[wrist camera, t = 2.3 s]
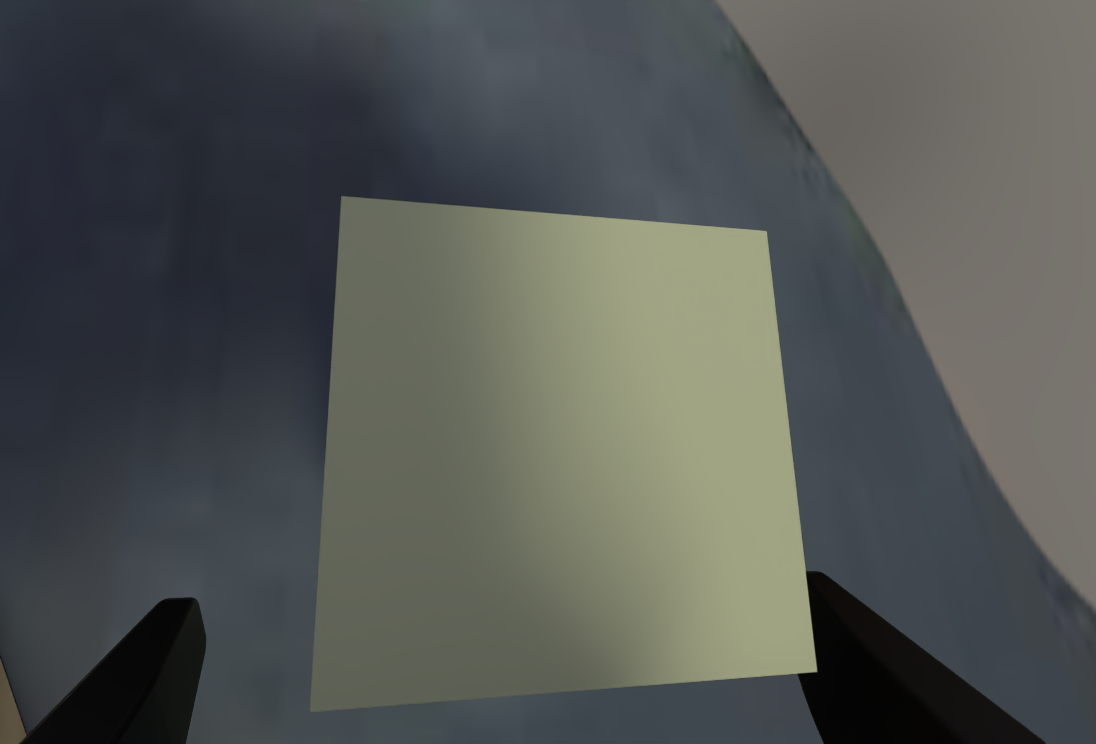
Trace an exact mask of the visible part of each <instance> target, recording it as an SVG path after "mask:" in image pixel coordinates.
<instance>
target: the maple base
mask: <svg viewBox="0 0 1096 744" xmlns="http://www.w3.org/2000/svg"><path fill="white" fill-rule="evenodd" d="M25 737H26V733H25V730H24V727H23V724H22V721H21V718H20V715H19V712H18V709H17V706H16V703H15V700H14V697H13V694H12V691H11V688H10V685H9V682H8V680H7V677H6V674H5V671H4V668H3V665H2V662H1V659H0V744H19V743H20V742H21V741H22V740H23V739H24V738H25Z"/></svg>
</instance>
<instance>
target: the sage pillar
mask: <svg viewBox="0 0 1096 744" xmlns="http://www.w3.org/2000/svg"><path fill="white" fill-rule="evenodd" d="M809 672H817V666H816V657H815V649H814V640H813V631H812V623H811V614H810V605H809V597H808V588H807V579H806V570H805V562H804V553H803V544H802V536H801V527H800V518H799V510H798V501H797V492H796V484H795V475H794V466H793V458H792V449H791V440H790V432H789V423H788V414H787V405H786V397H785V388H784V379H783V371H782V362H781V353H780V345H779V336H778V327H777V319H776V310H775V301H774V293H773V284H772V275H771V267H770V258H769V249H768V240H767V232H766V231H758V230H746V229H734V228H722V227H710V226H697V225H685V224H673V223H661V222H649V221H637V220H625V219H613V218H601V217H588V216H576V215H564V214H552V213H540V212H528V211H516V210H504V209H492V208H479V207H467V206H455V205H443V204H431V203H419V202H407V201H395V200H383V199H371V198H358V197H346V196H341V211H340V228H339V244H338V260H337V277H336V293H335V309H334V326H333V342H332V358H331V375H330V391H329V407H328V424H327V440H326V456H325V473H324V489H323V505H322V522H321V538H320V554H319V571H318V587H317V603H316V620H315V636H314V652H313V669H312V685H311V702H310V712H314V711H327V710H340V709H352V708H365V707H378V706H391V705H403V704H416V703H429V702H441V701H454V700H467V699H479V698H492V697H505V696H517V695H530V694H543V693H555V692H568V691H581V690H593V689H606V688H619V687H631V686H644V685H657V684H669V683H682V682H695V681H707V680H720V679H733V678H745V677H758V676H771V675H783V674H796V673H809Z"/></svg>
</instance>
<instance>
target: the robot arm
mask: <svg viewBox="0 0 1096 744" xmlns="http://www.w3.org/2000/svg"><path fill="white" fill-rule="evenodd" d="M806 579H807V588H808V597H809V605H810V614H811V623H812V631H813V640H814V649H815V657H816V666H817V672H809V673H797V674H798V677H799V680H800V683H801V686H802V689H803V692H804V695H805V698H806V701H807V704H808V706H809V709H810V712H811V714H812V717H813V719H814V722H815V724H816V727H817V729H818V731H819V734H820V736H821V738H822V740H823V743H824V744H1046V743H1045V741H1043V740H1042V739H1041V738H1039V737H1038V736H1037V735H1036V734H1034V733H1033V732H1032V731H1030V730H1029V729H1028V728H1026V727H1025V726H1024V725H1022V724H1021V723H1020V722H1018V721H1017V720H1016V719H1015V718H1013V717H1012V716H1011V715H1009V714H1008V713H1007V712H1005V711H1004V710H1003V709H1001V708H1000V707H999V706H997V705H996V704H995V703H993V702H992V701H991V700H990V699H988V698H987V697H986V696H984V695H983V694H982V693H980V692H979V691H978V690H976V689H975V688H974V687H972V686H971V685H970V684H969V683H967V682H966V681H965V680H963V679H962V678H961V677H959V676H958V675H957V674H955V673H954V672H953V671H951V670H950V669H949V668H948V667H946V666H945V665H944V664H942V663H941V662H940V661H938V660H937V659H936V658H934V657H933V656H932V655H930V654H929V653H928V652H926V651H925V650H924V649H923V648H921V647H920V646H919V645H917V644H916V643H915V642H913V641H912V640H911V639H909V638H908V637H907V636H905V635H904V634H903V633H902V632H900V631H899V630H898V629H896V628H895V627H894V626H892V625H891V624H890V623H888V622H887V621H886V620H884V619H883V618H882V617H881V616H879V615H878V614H877V613H875V612H874V611H873V610H871V609H870V608H869V607H867V606H866V605H865V604H863V603H862V602H861V601H859V600H858V599H857V598H856V597H854V596H853V595H852V594H850V593H849V592H848V591H846V590H845V589H844V588H842V587H841V586H840V585H838V584H837V583H836V582H835V581H833V580H832V579H831V578H829V577H828V576H827V575H825V574H824V573H822V572H818V571H806ZM205 650H206V633H205V629H204V624H203V620H202V615H201V611H200V606H199V603H198V601H197V600H196V599H195V598H191V597H188V598H168V599H164V600H162V601H160V602H159V603H158V604H157V605H156V606H155V607H154V608H153V609H152V610H151V611H150V612H149V613H148V614H147V615H146V616H145V617H144V618H143V619H142V620H141V621H140V622H139V623H138V624H137V625H136V626H135V627H134V628H133V629H132V630H131V631H130V632H129V633H128V634H127V635H126V636H125V637H124V638H123V639H122V640H121V641H120V642H119V643H118V644H117V645H116V646H115V647H114V648H113V649H112V650H111V651H110V652H109V653H108V654H107V655H106V656H105V657H104V658H103V659H102V660H101V661H100V662H99V663H98V664H97V665H96V666H95V667H94V668H93V669H92V670H91V671H90V672H89V673H88V674H87V675H86V676H85V677H84V678H83V679H82V680H81V681H80V682H79V683H78V684H77V685H76V686H75V687H74V688H73V689H72V690H71V691H70V692H69V693H68V694H67V696H66V697H65V698H64V699H63V700H62V701H61V702H60V703H59V704H58V705H57V706H56V707H55V708H54V709H53V710H52V711H51V712H50V713H49V714H48V715H47V716H46V717H45V718H44V719H43V720H42V721H41V722H40V723H39V724H38V725H37V726H36V727H35V728H34V729H33V730H32V731H31V732H30V733H29V734H28V735H27V736H26V737H25V738H24V739H23V740H22V741H21V742H20V743H19V744H186V740H187V735H188V730H189V726H190V721H191V716H192V712H193V707H194V702H195V698H196V693H197V688H198V684H199V679H200V674H201V670H202V665H203V660H204V656H205Z"/></svg>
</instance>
